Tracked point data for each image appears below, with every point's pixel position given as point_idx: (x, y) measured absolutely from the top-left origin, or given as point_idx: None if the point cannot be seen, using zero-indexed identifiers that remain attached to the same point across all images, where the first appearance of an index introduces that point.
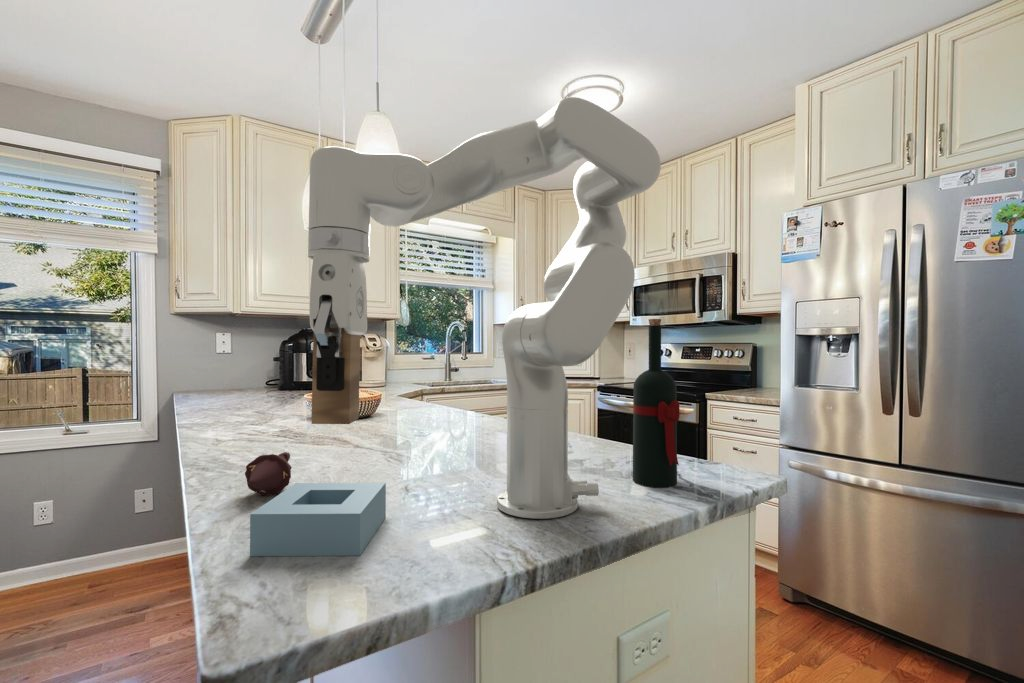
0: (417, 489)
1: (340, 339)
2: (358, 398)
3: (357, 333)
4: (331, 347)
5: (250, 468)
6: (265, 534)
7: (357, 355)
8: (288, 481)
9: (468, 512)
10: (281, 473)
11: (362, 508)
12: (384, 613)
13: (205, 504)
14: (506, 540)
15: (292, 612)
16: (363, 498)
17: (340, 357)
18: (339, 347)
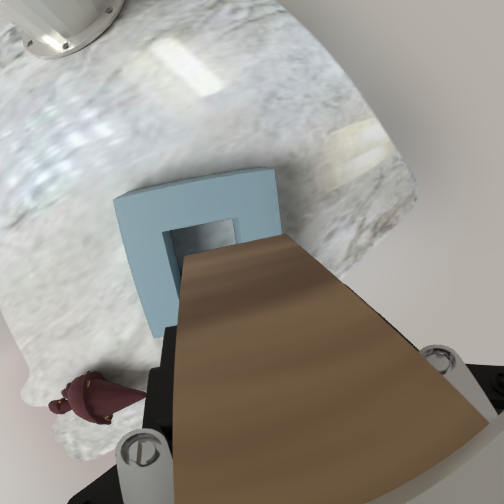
0: (16, 203)
1: (487, 401)
2: (189, 278)
3: (395, 497)
4: (489, 367)
5: (108, 418)
6: None
7: (236, 395)
8: (87, 373)
9: (94, 81)
10: (91, 386)
11: (252, 175)
12: (364, 105)
13: None
14: (194, 13)
15: (369, 181)
16: (205, 195)
17: (424, 352)
18: (469, 371)
